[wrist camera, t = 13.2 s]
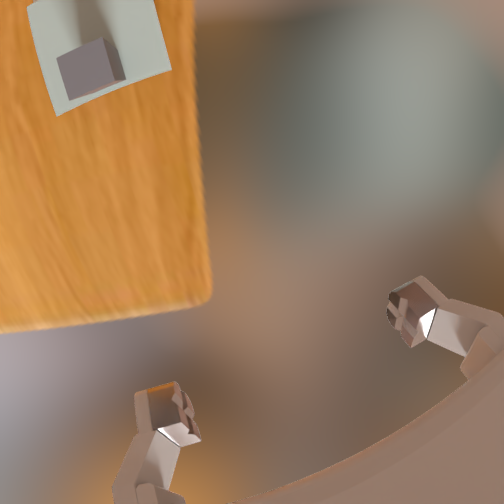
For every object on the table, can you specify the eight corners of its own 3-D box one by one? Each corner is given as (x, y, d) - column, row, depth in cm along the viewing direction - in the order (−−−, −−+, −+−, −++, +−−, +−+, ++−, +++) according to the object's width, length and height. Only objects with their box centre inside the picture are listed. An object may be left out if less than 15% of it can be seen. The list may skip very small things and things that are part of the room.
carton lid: (171, 69, 23) (182, 65, 15) (58, 115, 22) (18, 137, 14) (142, -40, 16) (143, -86, 8) (28, 8, 15) (-18, -13, 7)
